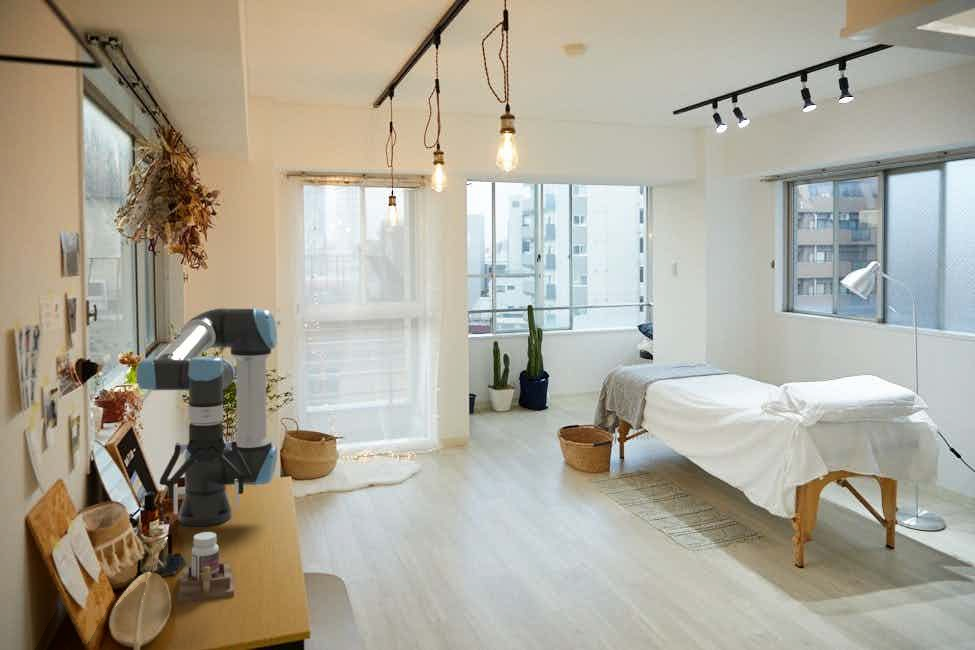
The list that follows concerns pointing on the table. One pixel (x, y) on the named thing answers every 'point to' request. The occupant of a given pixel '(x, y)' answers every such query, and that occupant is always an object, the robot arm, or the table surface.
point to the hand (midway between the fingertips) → (206, 509)
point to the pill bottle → (205, 555)
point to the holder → (206, 584)
